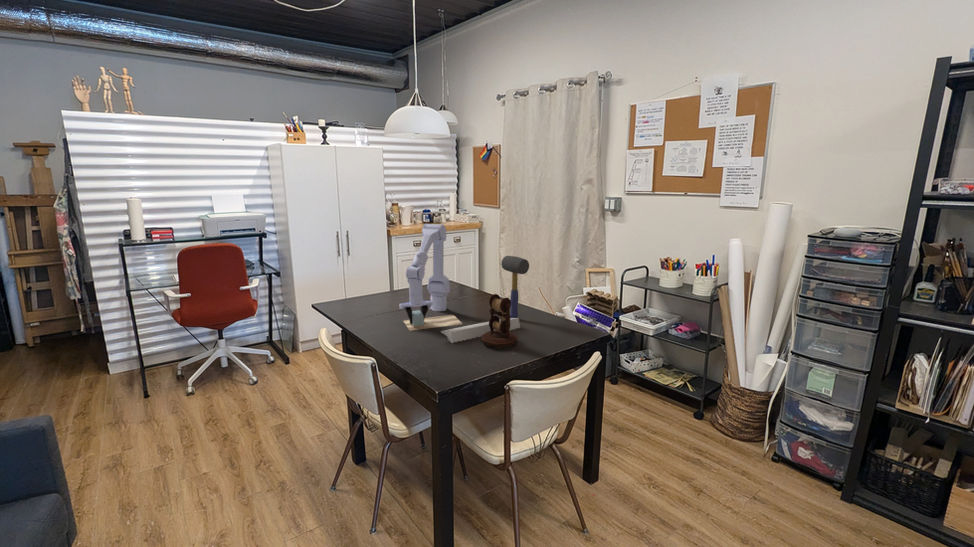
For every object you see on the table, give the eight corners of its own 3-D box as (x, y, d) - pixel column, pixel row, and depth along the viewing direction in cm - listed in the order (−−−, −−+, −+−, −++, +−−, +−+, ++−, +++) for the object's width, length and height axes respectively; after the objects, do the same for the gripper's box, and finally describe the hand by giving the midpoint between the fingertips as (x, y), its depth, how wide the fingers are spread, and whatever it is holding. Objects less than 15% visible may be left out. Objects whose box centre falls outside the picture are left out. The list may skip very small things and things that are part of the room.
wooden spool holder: (525, 344, 184) (526, 296, 179) (497, 353, 175) (497, 303, 170) (501, 334, 195) (501, 289, 190) (473, 342, 186) (474, 294, 181)
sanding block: (409, 321, 205) (409, 311, 204) (419, 320, 206) (419, 310, 205) (413, 327, 198) (413, 316, 196) (423, 326, 199) (423, 315, 198)
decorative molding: (441, 342, 193) (452, 343, 184) (440, 331, 193) (450, 332, 184) (507, 328, 211) (520, 328, 202) (506, 317, 211) (518, 318, 202)
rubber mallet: (499, 317, 216) (500, 255, 209) (510, 314, 221) (511, 253, 214) (517, 324, 207) (519, 259, 200) (529, 320, 212) (530, 257, 205)
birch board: (403, 323, 207) (403, 320, 207) (453, 317, 215) (453, 314, 215) (409, 333, 194) (409, 330, 194) (462, 327, 203) (462, 324, 202)
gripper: (401, 297, 193) (402, 327, 196) (434, 293, 198) (435, 323, 201) (398, 292, 199) (399, 322, 202) (430, 289, 204) (431, 318, 207)
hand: (416, 322), depth 202 cm, fingers closed on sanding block, 4 cm apart
